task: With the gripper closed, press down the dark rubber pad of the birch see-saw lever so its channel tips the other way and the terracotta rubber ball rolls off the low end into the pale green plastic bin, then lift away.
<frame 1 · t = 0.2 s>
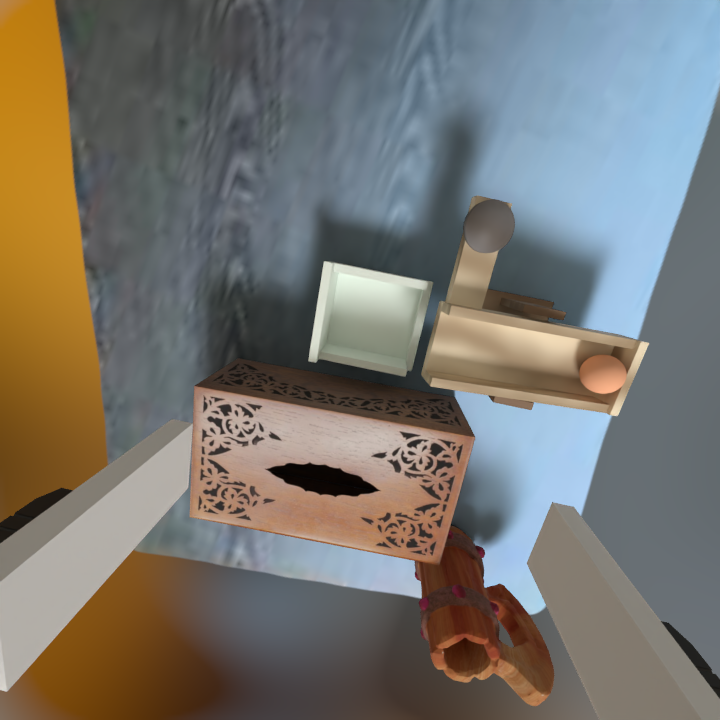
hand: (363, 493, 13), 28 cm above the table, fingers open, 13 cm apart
bin: (373, 315, 39), on the table
ball: (602, 374, 31), point 7 cm above the table, tilted 15°, touching lever
tissue box cover: (337, 431, 43), on the table
mug: (461, 549, 46), on the table
lever: (546, 312, 30), point 7 cm above the table, hinge at -10.0°, touching ball
fulcrum: (502, 342, 38), on the table
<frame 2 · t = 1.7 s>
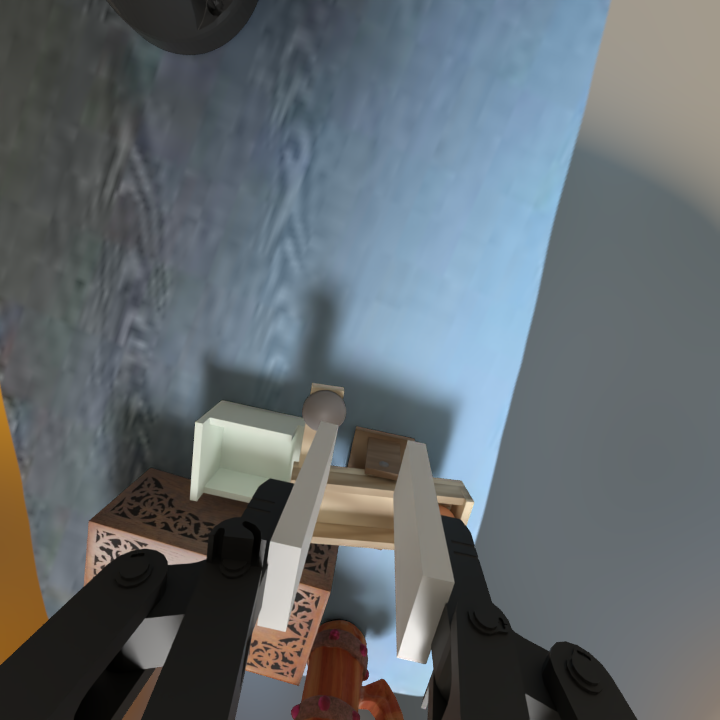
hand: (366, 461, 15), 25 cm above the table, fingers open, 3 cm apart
bin: (260, 444, 43), on the table
ball: (438, 523, 36), point 7 cm above the table, tilted 15°, touching lever
tissue box cover: (238, 537, 48), on the table
mug: (356, 639, 51), on the table
lever: (385, 474, 35), point 7 cm above the table, hinge at -10.0°, touching ball
fulcrum: (376, 470, 43), on the table
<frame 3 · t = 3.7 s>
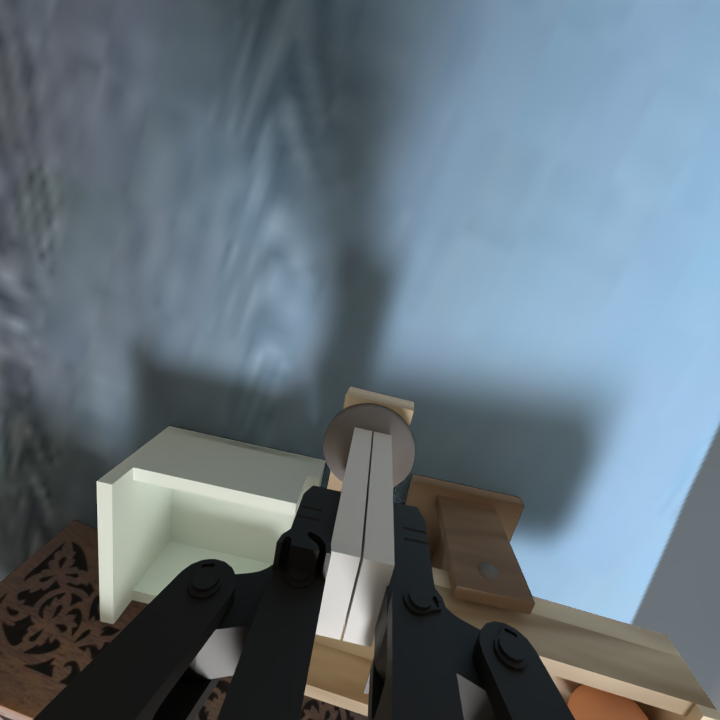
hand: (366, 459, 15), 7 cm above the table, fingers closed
bin: (240, 503, 24), on the table
tissue box cover: (207, 642, 29), on the table
lever: (491, 599, 16), point 7 cm above the table, hinge at 4.6°, touching ball, gripper
fulcrum: (444, 548, 24), on the table
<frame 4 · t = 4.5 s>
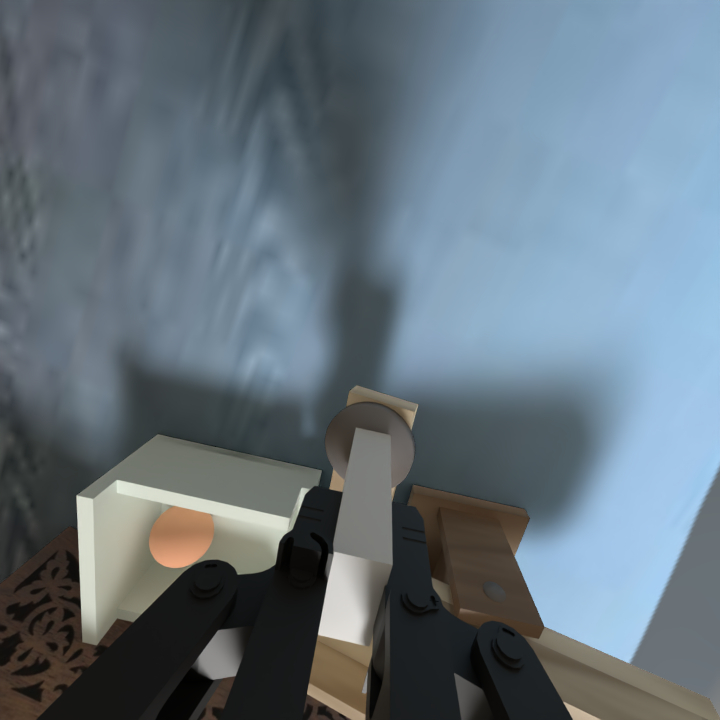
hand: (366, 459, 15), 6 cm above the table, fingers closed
bin: (232, 514, 23), on the table
ball: (182, 534, 21), point 2 cm above the table, tilted 110°, touching bin
tissue box cover: (199, 658, 28), on the table
lever: (492, 621, 15), point 7 cm above the table, hinge at 14.3°, touching gripper
fulcrum: (446, 562, 23), on the table
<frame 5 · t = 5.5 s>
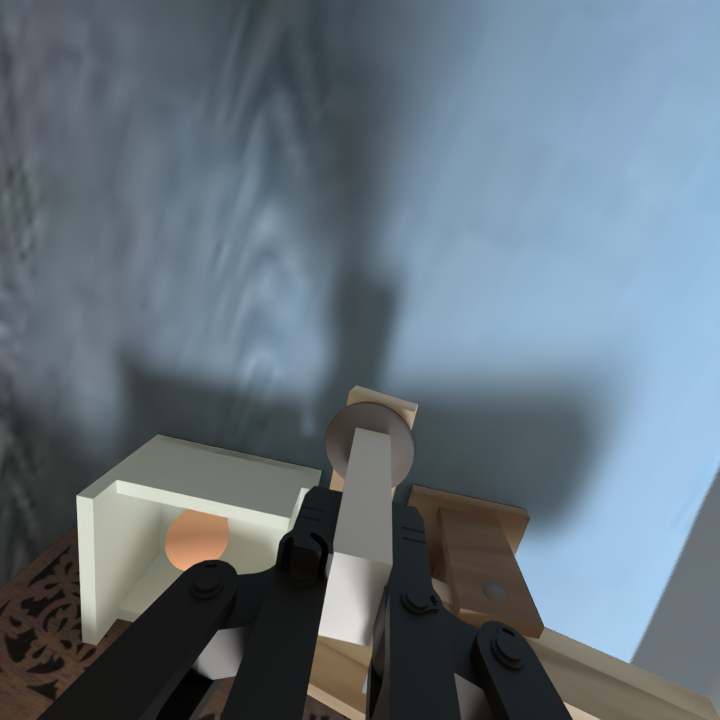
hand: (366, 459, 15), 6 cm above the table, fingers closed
bin: (232, 514, 23), on the table
ball: (198, 537, 21), point 2 cm above the table, tilted 78°, touching bin
tissue box cover: (199, 658, 28), on the table
lever: (492, 621, 15), point 7 cm above the table, hinge at 14.3°, touching gripper
fulcrum: (446, 562, 23), on the table
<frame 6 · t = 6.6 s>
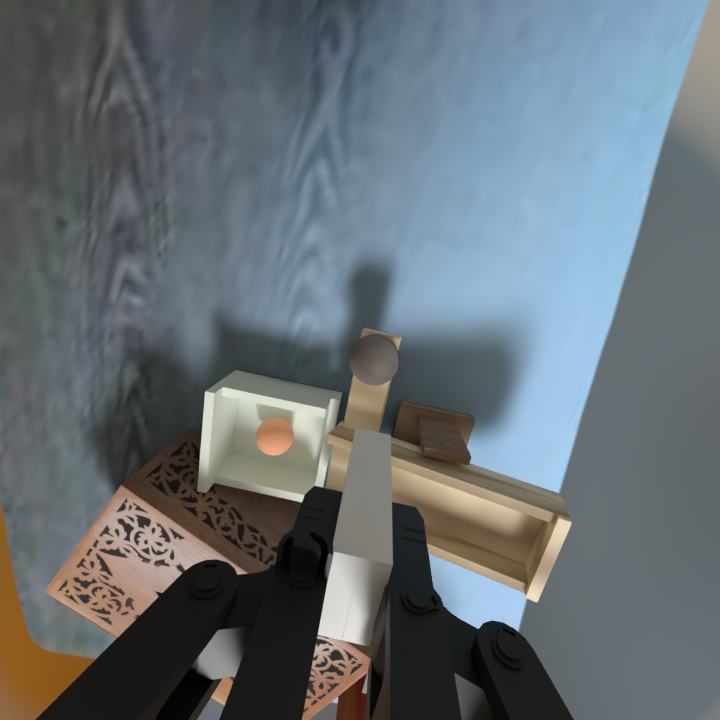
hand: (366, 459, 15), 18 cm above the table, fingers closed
bin: (282, 425, 35), on the table
ball: (274, 436, 33), point 2 cm above the table, tilted 44°, touching bin
tissue box cover: (253, 538, 40), on the table
mug: (392, 660, 43), on the table
lever: (442, 455, 27), point 7 cm above the table, hinge at 14.3°
fulcrum: (423, 455, 35), on the table
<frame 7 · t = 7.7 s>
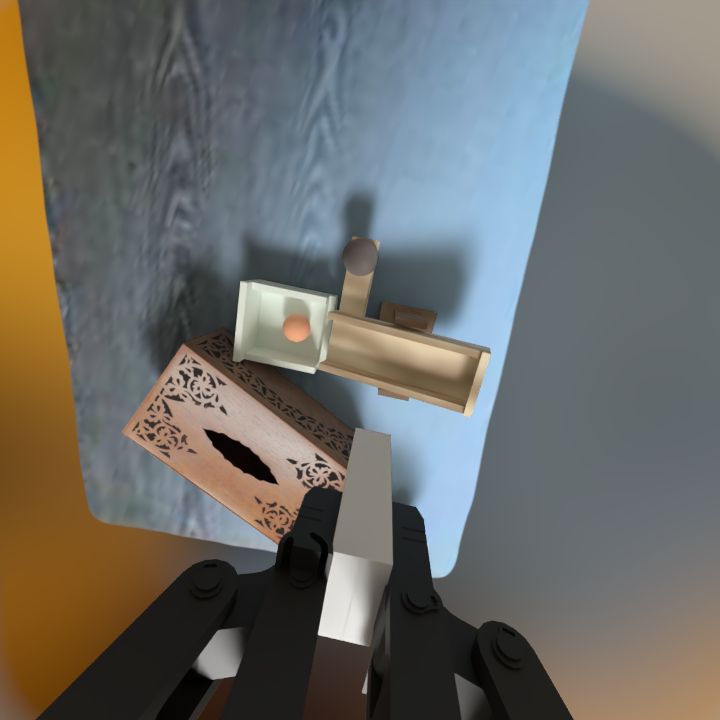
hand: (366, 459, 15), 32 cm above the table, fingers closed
bin: (293, 323, 47), on the table
ball: (296, 327, 45), point 2 cm above the table, tilted 9°, touching bin
tissue box cover: (269, 420, 52), on the table
lever: (408, 322, 38), point 7 cm above the table, hinge at 14.3°
fulcrum: (400, 345, 47), on the table
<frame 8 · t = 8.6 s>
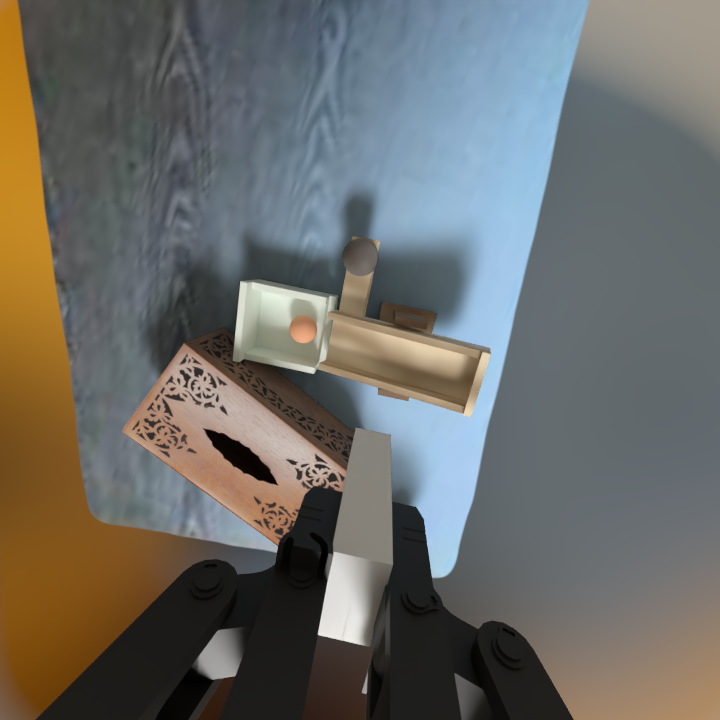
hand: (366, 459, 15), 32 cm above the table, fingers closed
bin: (293, 323, 47), on the table
ball: (303, 329, 45), point 2 cm above the table, tilted 19°, touching bin
tissue box cover: (269, 420, 52), on the table
lever: (408, 322, 38), point 7 cm above the table, hinge at 14.3°
fulcrum: (400, 345, 47), on the table
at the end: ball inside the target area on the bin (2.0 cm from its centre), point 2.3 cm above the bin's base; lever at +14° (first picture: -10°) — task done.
